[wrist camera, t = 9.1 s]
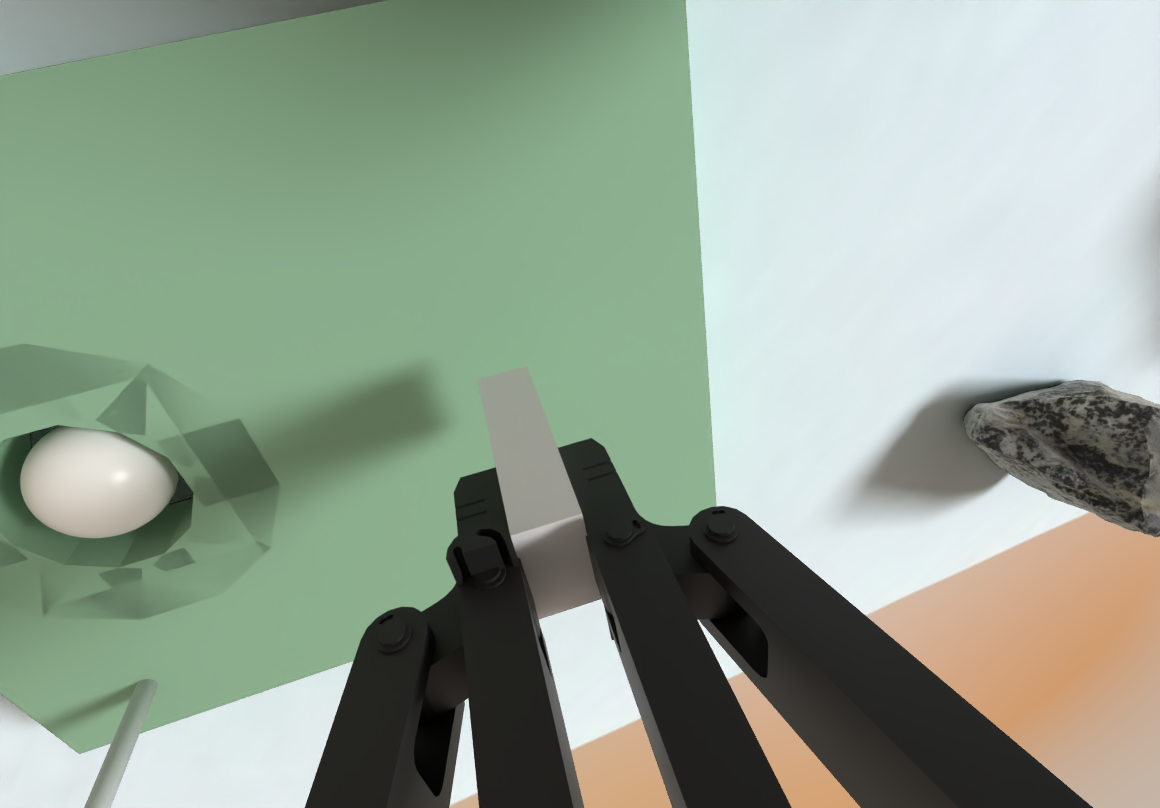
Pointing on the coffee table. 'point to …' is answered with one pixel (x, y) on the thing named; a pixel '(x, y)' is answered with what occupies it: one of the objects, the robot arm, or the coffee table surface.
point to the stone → (1079, 448)
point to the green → (329, 324)
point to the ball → (95, 482)
